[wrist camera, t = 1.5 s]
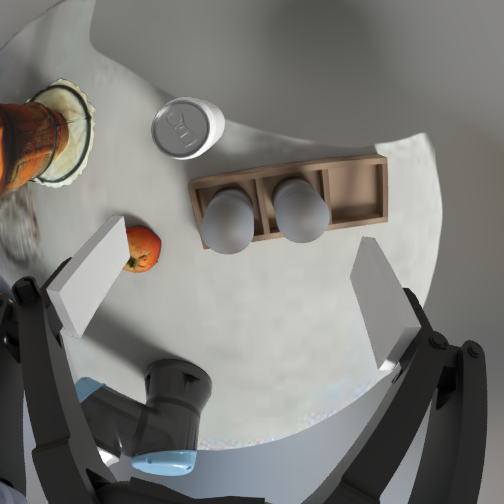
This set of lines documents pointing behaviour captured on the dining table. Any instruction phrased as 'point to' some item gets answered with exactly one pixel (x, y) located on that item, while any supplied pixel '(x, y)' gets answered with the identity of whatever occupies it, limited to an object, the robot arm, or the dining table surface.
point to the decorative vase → (45, 137)
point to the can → (187, 127)
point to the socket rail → (329, 181)
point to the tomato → (142, 249)
